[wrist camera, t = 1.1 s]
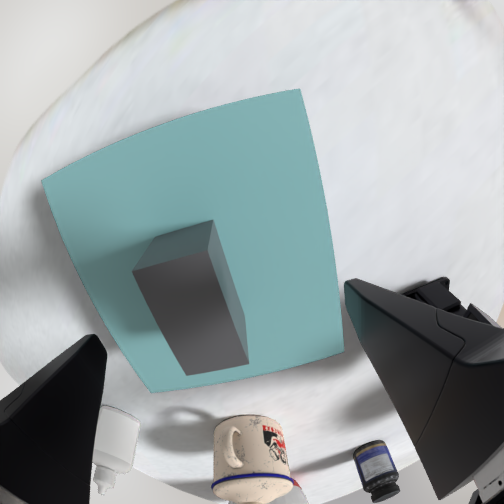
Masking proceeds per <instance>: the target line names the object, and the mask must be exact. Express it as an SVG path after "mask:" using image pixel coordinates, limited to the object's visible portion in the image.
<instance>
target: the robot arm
mask: <svg viewBox="0 0 504 504" xmlns="http://www.w3.org/2000/svg"><path fill="white" fill-rule="evenodd" d="M449 284H450V280H449V279H448V278H447V277H444V278H442V279H439V280H437V281H434V282H432V283H430V284H427V285H425V286H422V287H420V288H417V289H414V290H412V291H409V292H407V293H404V294H398V293H395V292H392V291H390V290H387V289H384V288H382V287H379V286H376V285H373V284H371V283H368V282H365V281H362V280H360V279H357V278H354V279H351V280H347V281H345V283H344V293H345V305H346V308H347V311H348V313H349V316H350V318H351V320H352V323H353V325H354V328H355V330H356V333H357V335H358V338H359V340H360V342H361V345H362V347H363V348H364V350H365V352H366V354H367V356H368V358H369V359H370V361H371V363H372V365H373V367H374V369H375V370H376V372H377V374H378V376H379V378H380V380H381V382H382V383H383V385H384V387H385V389H386V391H387V393H388V395H389V397H390V399H391V401H392V402H393V404H394V406H395V408H396V410H397V412H398V414H399V416H400V418H401V420H402V422H403V424H404V426H405V428H406V430H407V432H408V434H409V436H410V438H411V440H412V443H413V445H414V447H415V449H416V451H417V453H418V455H419V458H420V460H421V462H422V464H423V466H424V468H425V470H426V473H427V475H428V477H429V480H430V482H431V484H432V486H433V489H434V491H435V493H436V496H437V498H438V500H441V499H443V498H445V497H447V496H448V495H449V494H452V493H453V492H455V491H457V490H458V489H460V488H461V487H463V486H465V485H466V484H468V483H469V482H471V481H472V480H474V482H475V484H476V486H477V488H478V489H477V490H476V491H474V492H473V494H472V497H471V499H470V502H469V504H504V329H503V328H501V327H500V326H499V325H498V324H497V323H496V322H495V321H494V320H493V319H492V318H491V317H489V316H488V315H487V314H486V313H484V312H483V311H481V310H480V309H479V308H477V307H476V306H474V305H473V304H471V303H470V305H469V306H468V309H467V310H466V309H465V308H464V307H463V306H462V305H461V301H460V300H459V299H457V298H456V297H455V296H454V295H453V294H452V293H451V292H450V291H449ZM106 363H107V351H106V349H105V348H104V346H103V344H102V343H101V341H100V339H99V338H98V336H97V335H95V334H89V335H85V336H84V337H83V338H81V339H80V340H79V341H77V342H76V343H75V344H73V345H72V346H71V347H69V348H68V349H67V350H65V351H64V352H63V353H61V354H60V355H59V356H58V357H56V358H55V359H54V360H52V361H51V362H50V363H48V364H47V365H46V366H45V367H43V368H42V369H41V370H39V371H38V372H37V373H36V374H34V375H33V376H32V377H30V378H29V379H28V380H27V381H26V382H24V383H23V384H22V385H20V386H19V387H18V388H16V389H15V390H14V391H13V392H11V393H10V394H9V395H8V396H6V397H5V398H3V399H2V400H0V504H89V499H90V481H91V470H92V460H93V451H94V443H95V436H96V429H97V423H98V417H99V411H100V405H101V400H102V395H103V389H104V380H105V371H106Z"/></svg>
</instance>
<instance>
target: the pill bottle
mask: <svg viewBox="0 0 504 504" xmlns="http://www.w3.org/2000/svg"><path fill="white" fill-rule="evenodd" d="M353 458H354V461H355V464H356V467H357V470H358V473H359V476H360V479H361V482H362V485H363V489H364V491H366V492H369V493H371V494H372V496H371V499H372V502H373V503H377V502H381V501H384V500H386V499H388V498H391V497H393V496H394V495H396V494H398V493H399V492H400V489H399V486H398V485H396V483H395V482H396V481H397V480H398V477H399V474H398V472H397V470H396V467H395V465H394V462H393V460H392V458H391V455H390V453H389V450H388V448H387V446H386V444H385V442H384V441H382V440H378V441H373V442H370V443H368V444H366V445H363V446H362V447H360V448H359V449H357V450H356V451H355V453H354V454H353Z"/></svg>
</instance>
